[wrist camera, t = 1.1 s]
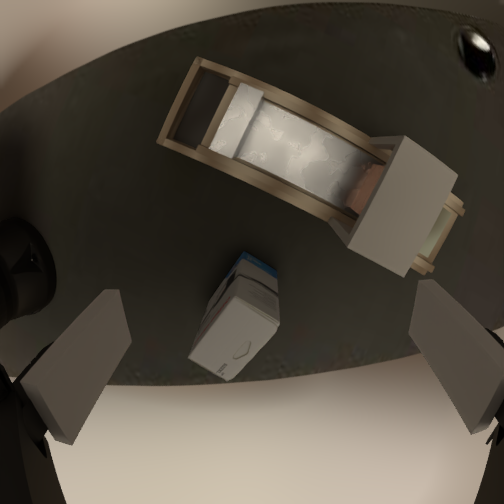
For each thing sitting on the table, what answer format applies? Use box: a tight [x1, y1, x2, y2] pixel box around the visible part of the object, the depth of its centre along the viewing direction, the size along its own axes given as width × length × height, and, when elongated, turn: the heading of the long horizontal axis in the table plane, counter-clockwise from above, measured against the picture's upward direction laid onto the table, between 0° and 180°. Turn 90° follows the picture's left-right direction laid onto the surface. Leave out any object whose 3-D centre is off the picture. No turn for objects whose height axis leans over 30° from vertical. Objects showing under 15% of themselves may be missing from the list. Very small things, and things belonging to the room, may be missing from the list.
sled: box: [209, 83, 385, 218], centre depth 27 cm, size 18×6×6 cm, turn 65°
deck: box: [156, 57, 465, 275], centre depth 31 cm, size 34×10×4 cm, turn 65°
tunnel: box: [328, 136, 458, 277], centre depth 26 cm, size 6×10×8 cm, turn 155°
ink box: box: [188, 251, 280, 381], centre depth 32 cm, size 8×5×12 cm, turn 146°
